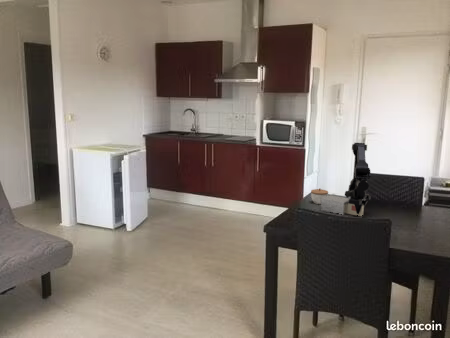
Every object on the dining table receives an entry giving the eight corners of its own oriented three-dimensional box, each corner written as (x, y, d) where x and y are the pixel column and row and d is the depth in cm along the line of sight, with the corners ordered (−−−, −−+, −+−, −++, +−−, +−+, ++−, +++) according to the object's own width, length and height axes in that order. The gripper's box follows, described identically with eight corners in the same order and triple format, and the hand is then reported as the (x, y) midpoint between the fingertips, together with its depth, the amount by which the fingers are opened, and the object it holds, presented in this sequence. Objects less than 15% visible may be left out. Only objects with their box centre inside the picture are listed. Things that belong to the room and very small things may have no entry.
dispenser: (328, 206, 255) (329, 195, 253) (351, 211, 246) (352, 199, 244) (320, 210, 246) (321, 198, 245) (344, 215, 237) (345, 202, 236)
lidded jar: (323, 206, 256) (324, 191, 255) (307, 203, 263) (308, 188, 261) (330, 202, 265) (331, 188, 263) (314, 199, 271) (315, 185, 269)
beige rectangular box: (332, 209, 249) (333, 199, 248) (363, 215, 237) (363, 205, 236) (330, 210, 247) (330, 200, 246) (361, 216, 235) (361, 206, 234)
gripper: (353, 182, 246) (351, 207, 249) (340, 187, 232) (339, 214, 235) (372, 185, 239) (370, 210, 242) (359, 190, 225) (357, 218, 228)
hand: (358, 213), depth 237 cm, fingers closed on beige rectangular box, 3 cm apart
